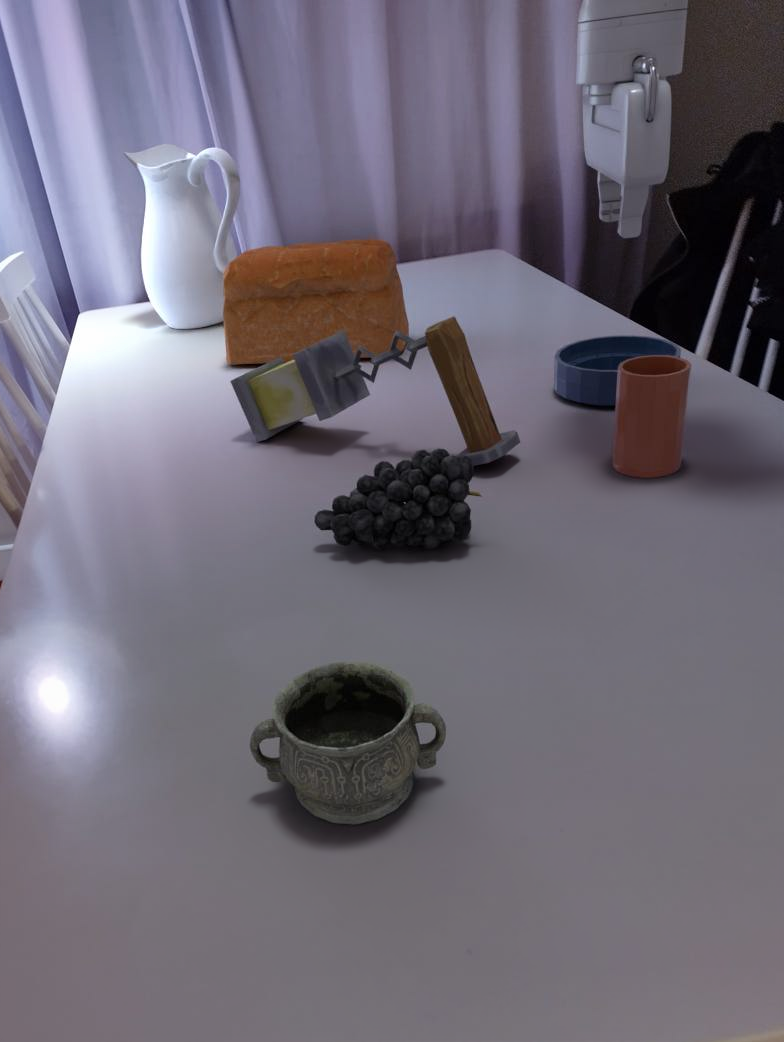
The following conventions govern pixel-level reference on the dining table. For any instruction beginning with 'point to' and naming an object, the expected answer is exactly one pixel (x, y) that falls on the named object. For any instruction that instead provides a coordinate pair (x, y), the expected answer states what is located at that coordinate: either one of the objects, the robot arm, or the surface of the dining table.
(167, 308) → the pitcher
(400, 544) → the fruit
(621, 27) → the robot arm
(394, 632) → the dining table surface
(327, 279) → the bread
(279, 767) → the vessel
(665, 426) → the cup
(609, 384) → the bowl
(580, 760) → the dining table surface
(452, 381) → the lantern
